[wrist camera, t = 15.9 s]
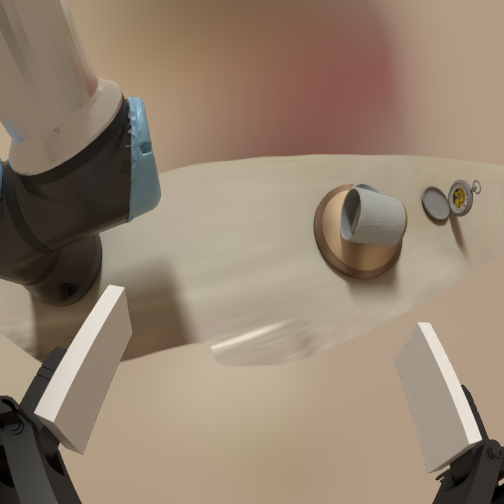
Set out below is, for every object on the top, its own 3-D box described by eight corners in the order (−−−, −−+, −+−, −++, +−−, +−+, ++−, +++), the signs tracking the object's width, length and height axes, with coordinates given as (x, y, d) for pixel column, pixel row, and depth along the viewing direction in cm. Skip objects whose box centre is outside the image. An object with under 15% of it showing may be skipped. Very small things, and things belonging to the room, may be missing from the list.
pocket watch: (414, 196, 46) (445, 170, 37) (437, 180, 48) (466, 155, 38) (439, 234, 45) (474, 215, 35) (460, 214, 46) (492, 194, 37)
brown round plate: (310, 272, 41) (312, 270, 40) (315, 179, 45) (317, 175, 44) (399, 283, 42) (403, 282, 41) (397, 197, 46) (400, 194, 45)
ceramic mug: (387, 253, 42) (414, 238, 34) (339, 248, 41) (360, 229, 34) (383, 192, 45) (405, 169, 37) (337, 183, 44) (355, 157, 37)
